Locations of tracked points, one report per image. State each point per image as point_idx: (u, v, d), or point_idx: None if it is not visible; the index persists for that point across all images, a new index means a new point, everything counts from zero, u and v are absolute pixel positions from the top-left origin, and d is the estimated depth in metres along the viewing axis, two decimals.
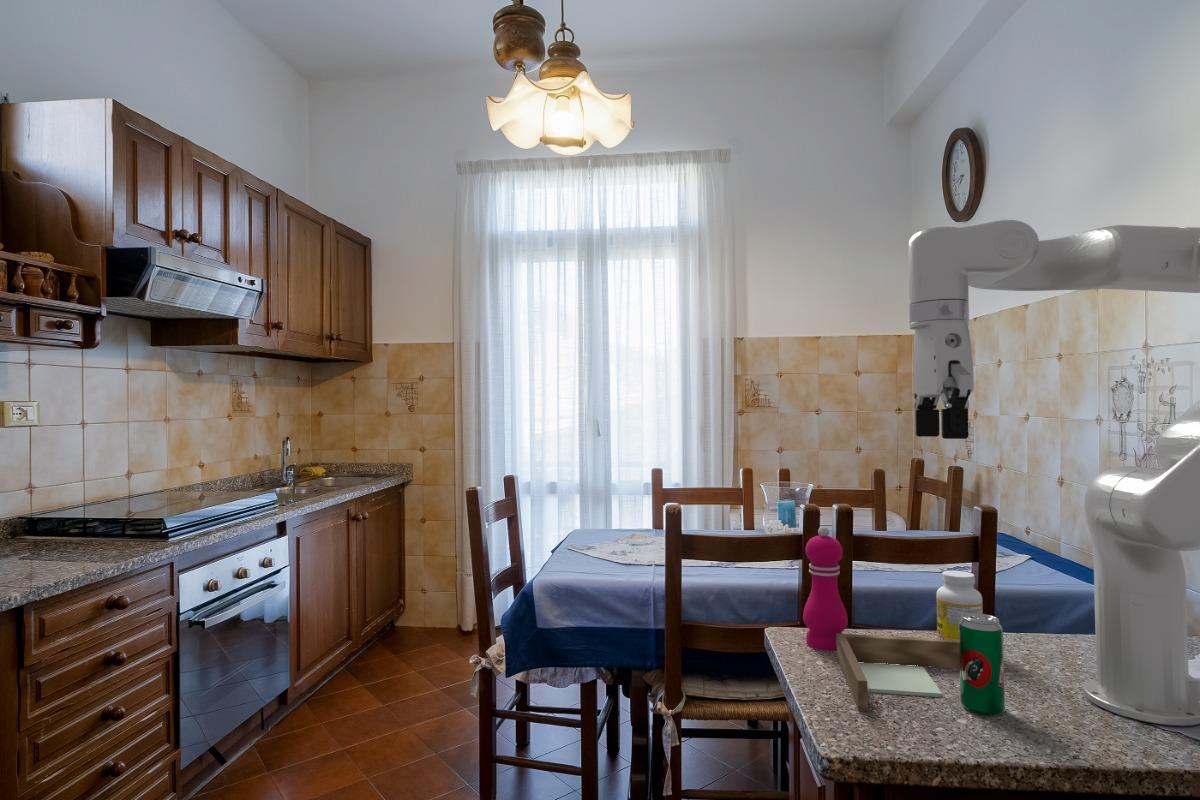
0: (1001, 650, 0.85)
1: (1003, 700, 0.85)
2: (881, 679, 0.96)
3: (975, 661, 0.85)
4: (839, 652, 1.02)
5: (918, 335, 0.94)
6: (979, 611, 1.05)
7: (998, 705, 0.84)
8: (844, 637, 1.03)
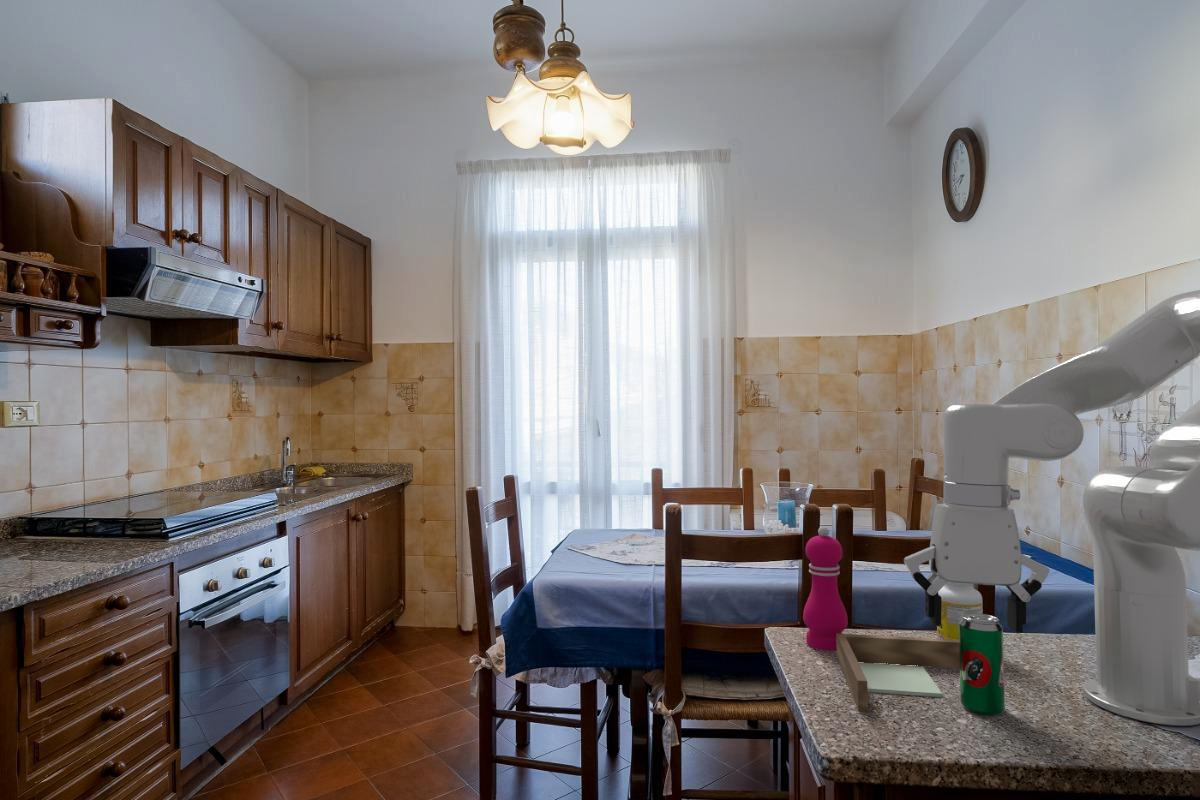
0: (1001, 650, 0.85)
1: (1003, 700, 0.85)
2: (881, 679, 0.96)
3: (975, 661, 0.85)
4: (839, 652, 1.02)
5: (975, 518, 0.85)
6: (979, 611, 1.05)
7: (998, 705, 0.84)
8: (844, 637, 1.03)
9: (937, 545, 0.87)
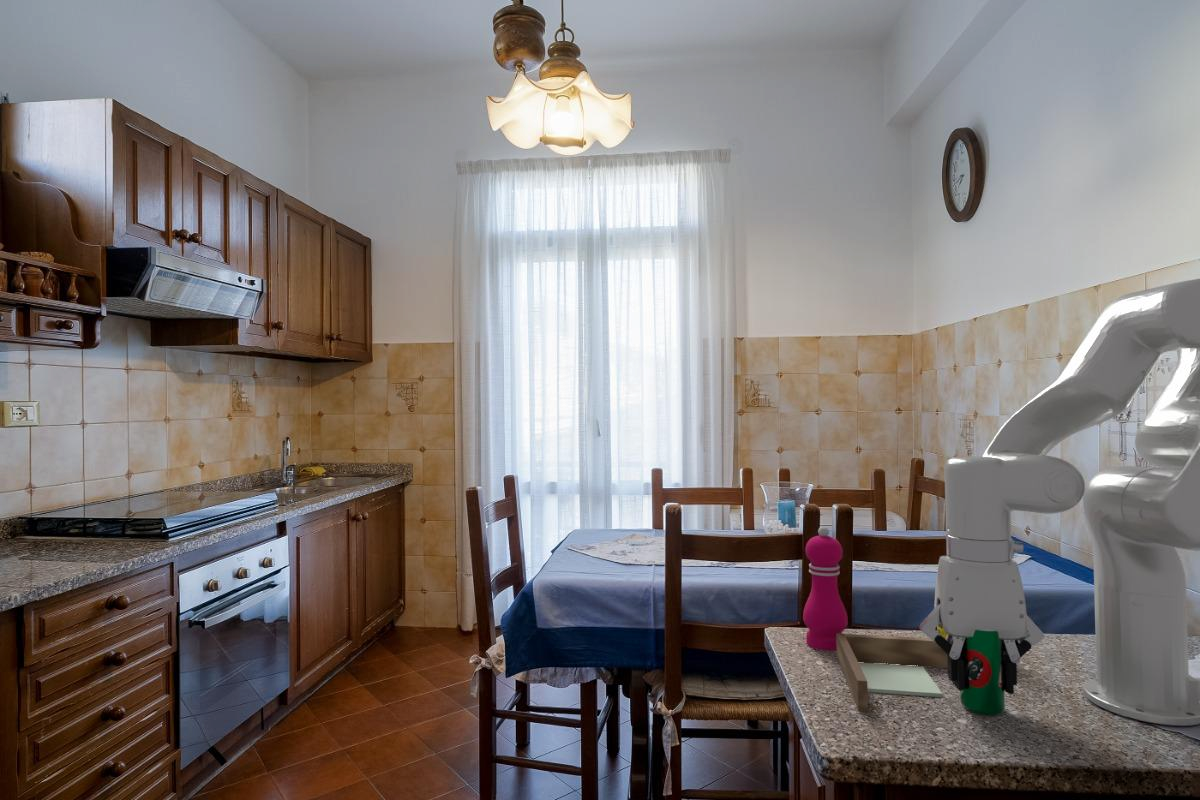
0: (1001, 650, 0.85)
1: (1003, 700, 0.85)
2: (881, 679, 0.96)
3: (975, 661, 0.85)
4: (839, 652, 1.02)
5: (979, 573, 0.85)
6: None
7: (998, 705, 0.84)
8: (844, 637, 1.03)
9: (942, 599, 0.87)
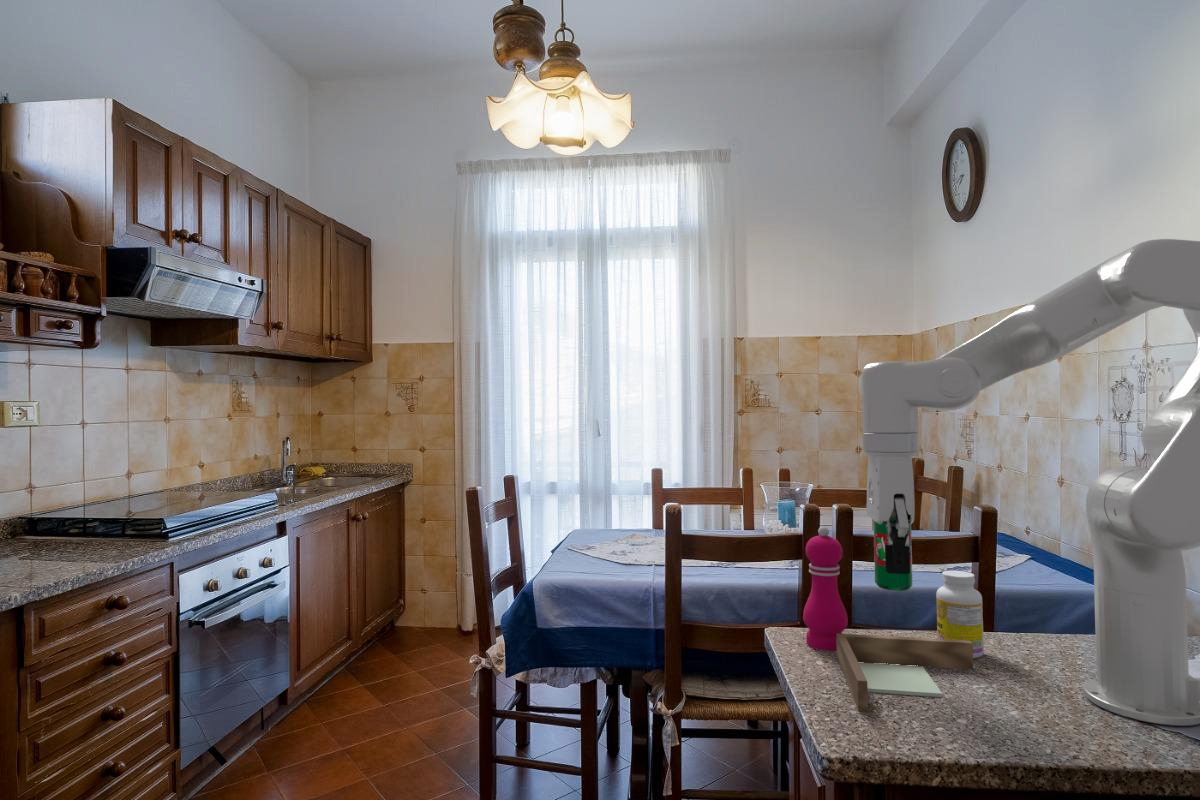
0: None
1: None
2: (881, 679, 0.96)
3: (910, 542, 0.95)
4: (839, 652, 1.02)
5: None
6: (979, 611, 1.05)
7: None
8: (844, 637, 1.03)
9: (908, 493, 0.92)
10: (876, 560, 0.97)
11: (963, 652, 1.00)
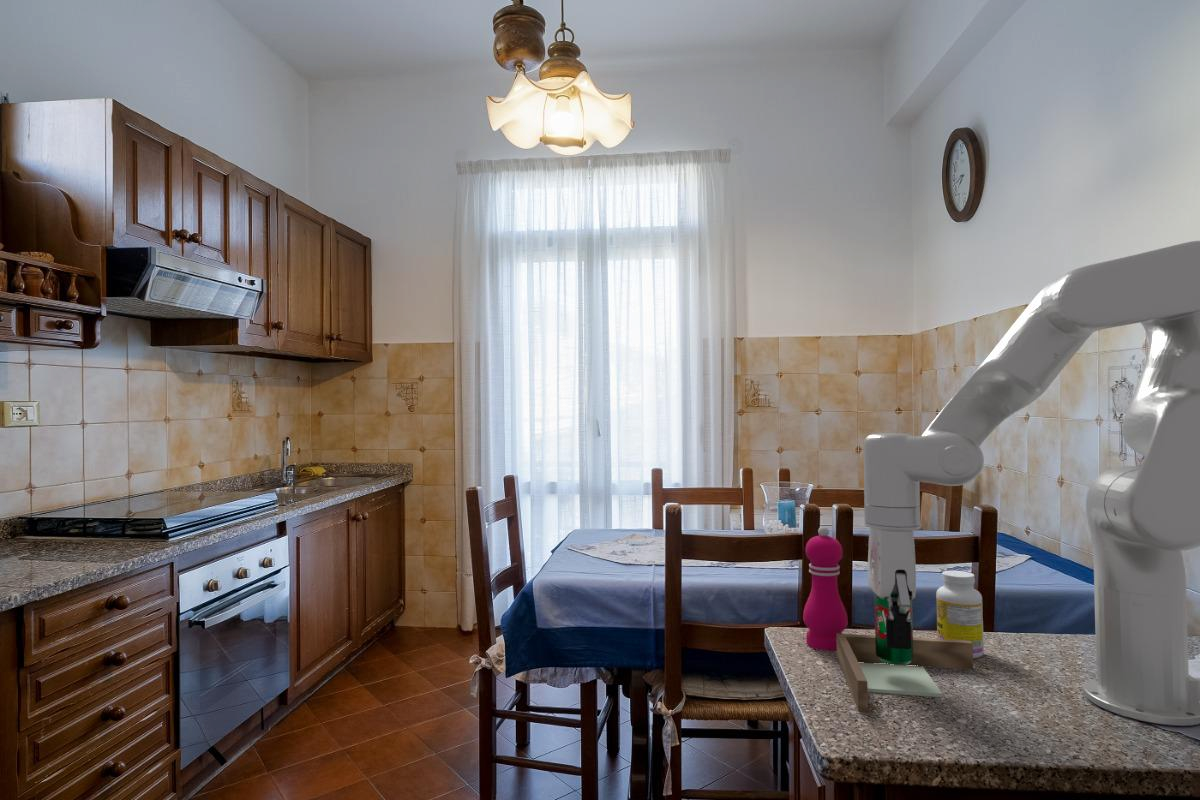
0: None
1: None
2: (881, 679, 0.96)
3: (911, 616, 0.95)
4: (839, 652, 1.02)
5: None
6: (979, 611, 1.05)
7: None
8: (844, 637, 1.03)
9: (910, 569, 0.92)
10: (877, 633, 0.96)
11: (963, 652, 1.00)
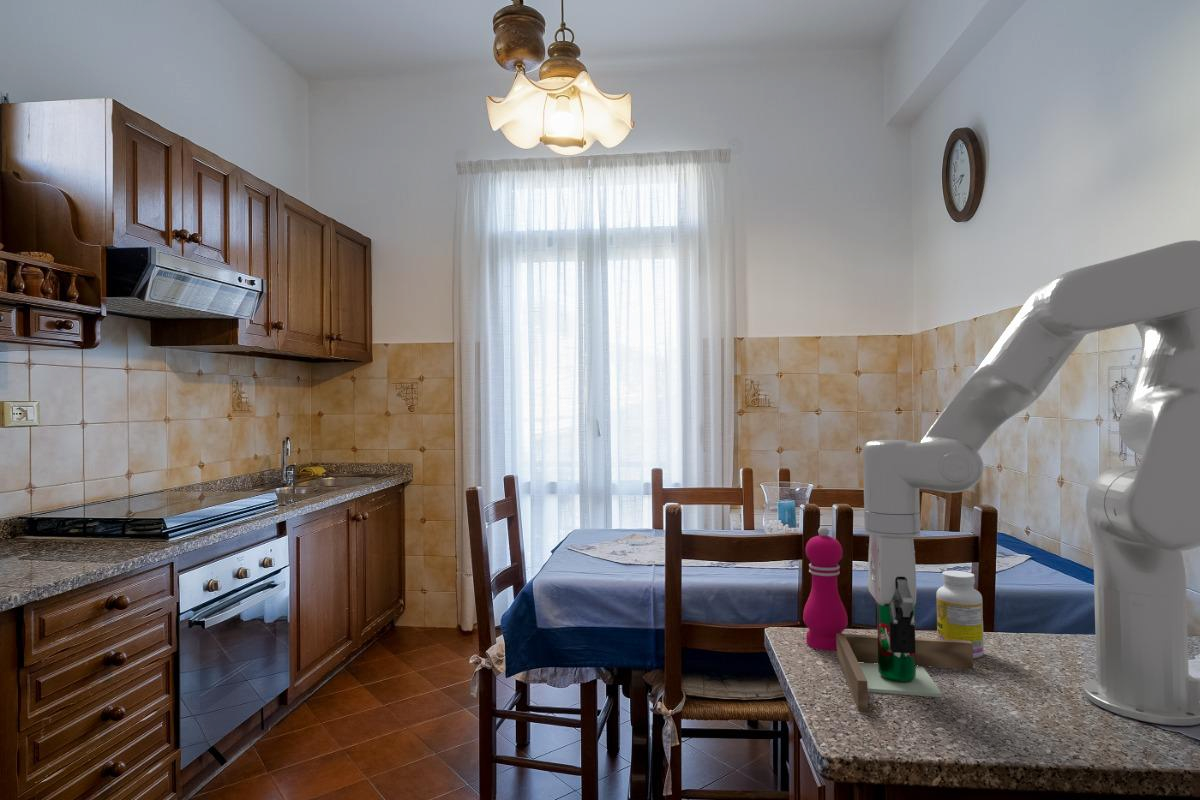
0: None
1: None
2: (881, 679, 0.96)
3: None
4: (839, 652, 1.02)
5: None
6: (979, 611, 1.05)
7: None
8: (844, 637, 1.03)
9: (910, 576, 0.92)
10: (879, 650, 0.96)
11: (963, 652, 1.00)
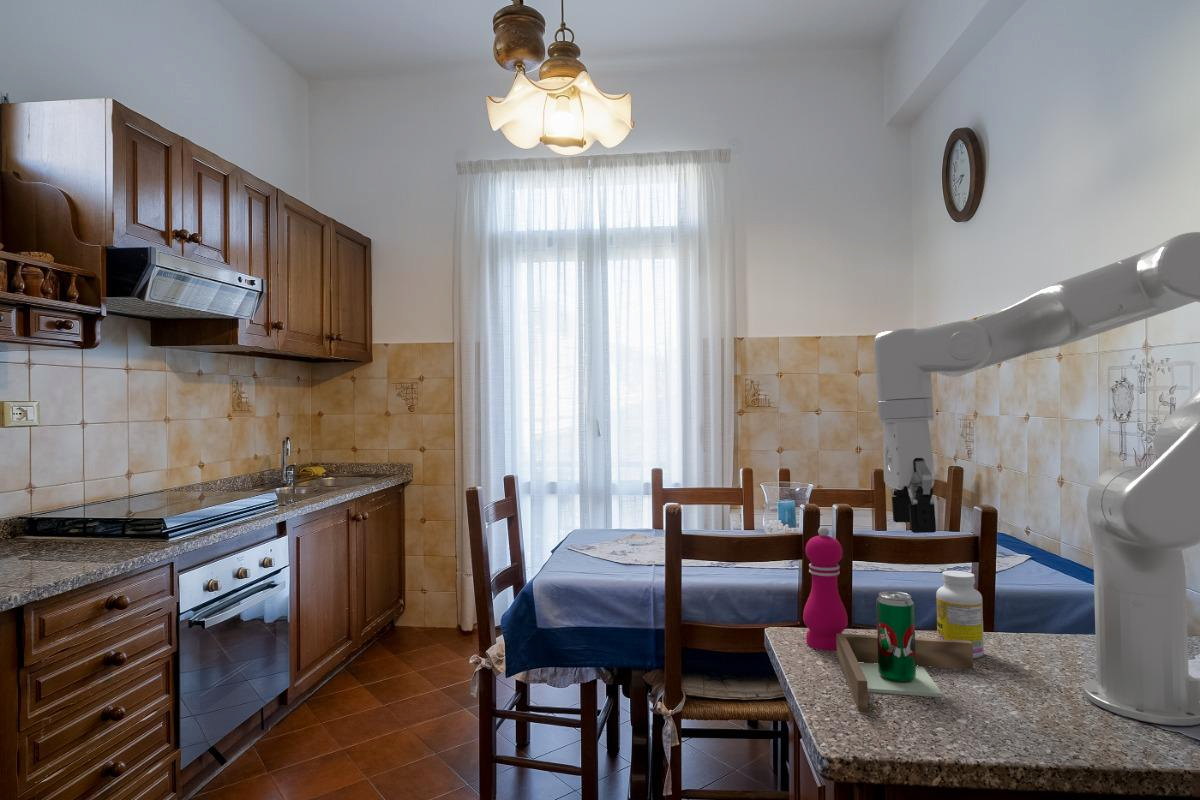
0: None
1: None
2: (881, 679, 0.96)
3: (913, 633, 0.95)
4: (839, 652, 1.02)
5: None
6: (979, 611, 1.05)
7: None
8: (844, 637, 1.03)
9: (927, 456, 0.93)
10: (879, 650, 0.96)
11: (963, 652, 1.00)
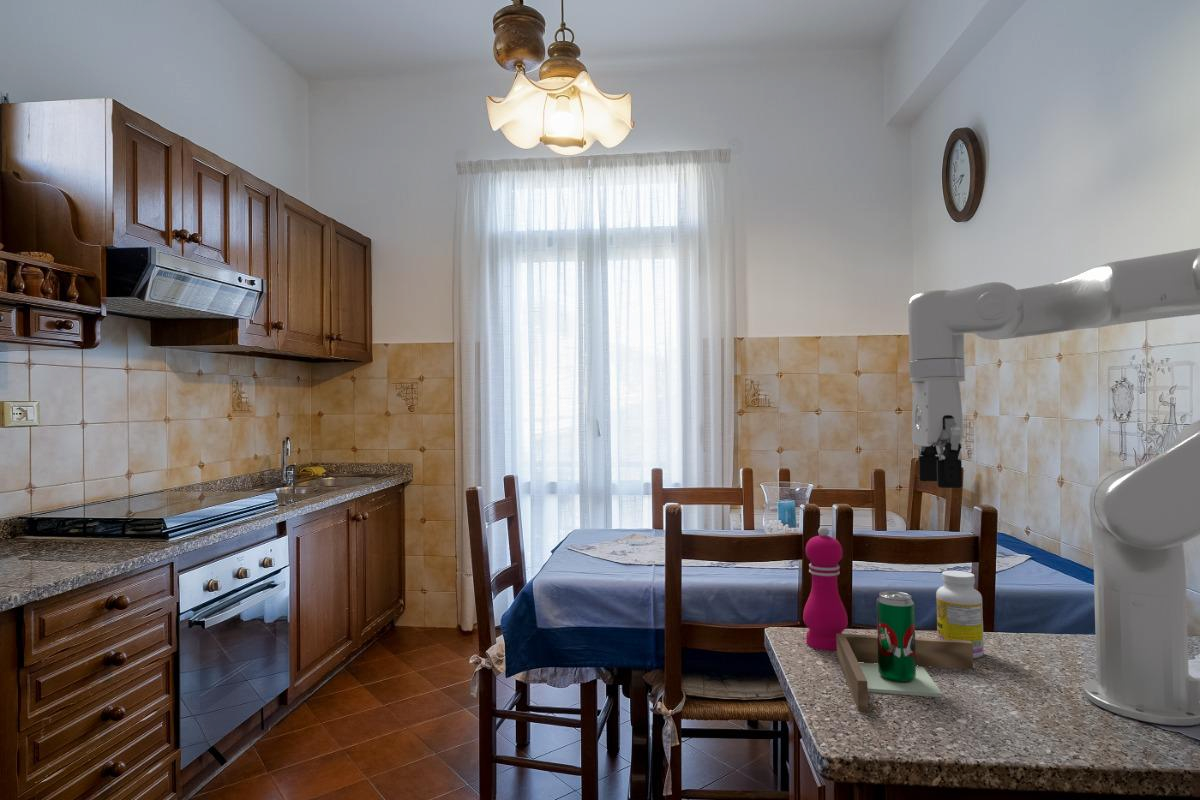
0: None
1: None
2: (881, 679, 0.96)
3: (913, 633, 0.95)
4: (839, 652, 1.02)
5: None
6: (979, 611, 1.05)
7: None
8: (844, 637, 1.03)
9: (956, 414, 0.96)
10: (879, 650, 0.96)
11: (963, 652, 1.00)
